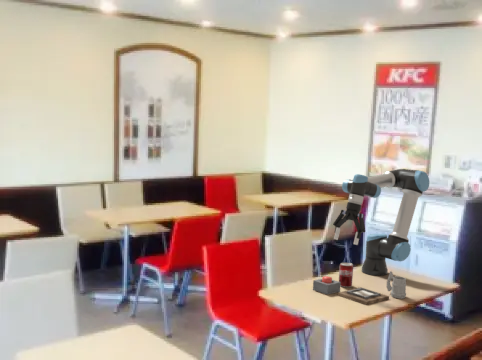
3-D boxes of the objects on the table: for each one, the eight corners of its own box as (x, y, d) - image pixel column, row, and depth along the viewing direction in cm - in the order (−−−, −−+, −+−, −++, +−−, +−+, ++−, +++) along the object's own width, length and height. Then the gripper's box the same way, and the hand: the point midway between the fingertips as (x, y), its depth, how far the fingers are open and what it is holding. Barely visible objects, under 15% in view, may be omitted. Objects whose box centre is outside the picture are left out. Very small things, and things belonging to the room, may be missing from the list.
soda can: (351, 288, 315) (353, 266, 313) (338, 286, 316) (339, 265, 315) (352, 284, 322) (353, 263, 321) (338, 283, 323) (339, 262, 322)
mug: (399, 299, 298) (400, 276, 296) (381, 293, 307) (382, 271, 306) (409, 297, 302) (410, 274, 301) (391, 291, 312) (392, 269, 310)
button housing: (325, 286, 315) (326, 277, 315) (340, 291, 307) (340, 282, 307) (312, 289, 309) (313, 280, 308) (327, 294, 301) (327, 285, 301)
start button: (326, 285, 311) (326, 275, 311) (333, 287, 308) (334, 278, 307) (319, 286, 308) (320, 277, 308) (326, 288, 304) (327, 279, 304)
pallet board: (360, 290, 312) (361, 285, 312) (388, 298, 298) (389, 294, 298) (338, 295, 300) (338, 290, 300) (366, 304, 287) (366, 299, 286)
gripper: (332, 198, 320) (323, 236, 319) (369, 205, 301) (359, 245, 300) (341, 201, 325) (332, 238, 324) (377, 208, 306) (368, 247, 305)
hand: (345, 242), depth 312 cm, fingers open, 13 cm apart
